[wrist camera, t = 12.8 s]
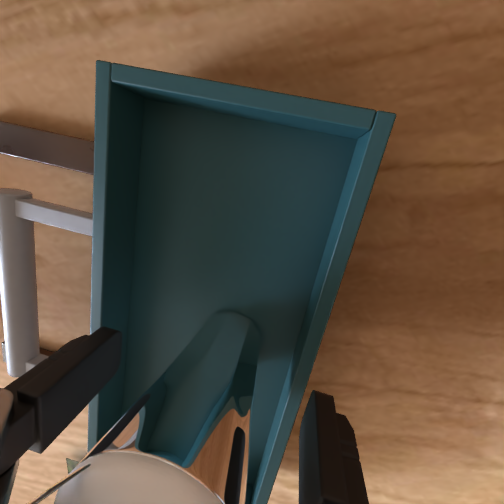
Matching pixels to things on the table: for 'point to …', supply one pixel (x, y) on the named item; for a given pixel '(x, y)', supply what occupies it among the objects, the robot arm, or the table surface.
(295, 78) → the table surface
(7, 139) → the runners
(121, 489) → the milkshake
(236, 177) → the tray
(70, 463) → the eiffel tower figurine
